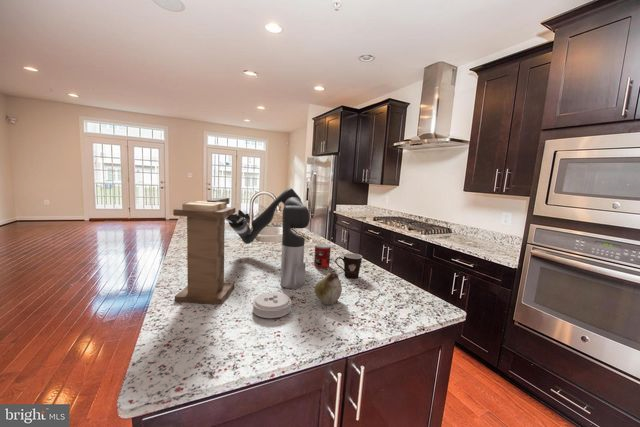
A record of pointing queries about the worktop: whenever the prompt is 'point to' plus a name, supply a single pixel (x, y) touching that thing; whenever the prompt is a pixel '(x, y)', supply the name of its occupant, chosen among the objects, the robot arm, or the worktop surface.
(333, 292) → the fruit
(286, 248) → the robot arm
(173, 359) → the worktop surface
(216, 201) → the wooden board
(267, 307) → the lid
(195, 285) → the tall stand
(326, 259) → the canned food
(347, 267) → the coffee mug
